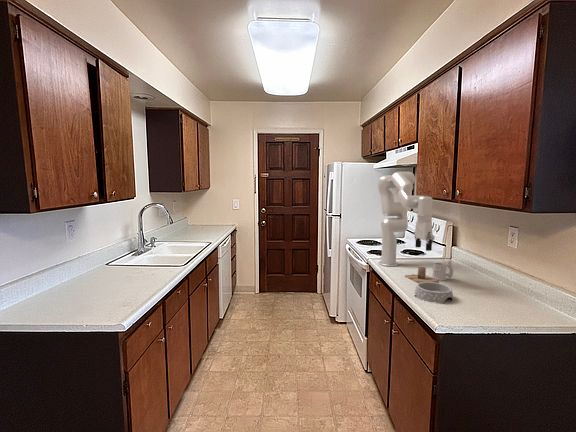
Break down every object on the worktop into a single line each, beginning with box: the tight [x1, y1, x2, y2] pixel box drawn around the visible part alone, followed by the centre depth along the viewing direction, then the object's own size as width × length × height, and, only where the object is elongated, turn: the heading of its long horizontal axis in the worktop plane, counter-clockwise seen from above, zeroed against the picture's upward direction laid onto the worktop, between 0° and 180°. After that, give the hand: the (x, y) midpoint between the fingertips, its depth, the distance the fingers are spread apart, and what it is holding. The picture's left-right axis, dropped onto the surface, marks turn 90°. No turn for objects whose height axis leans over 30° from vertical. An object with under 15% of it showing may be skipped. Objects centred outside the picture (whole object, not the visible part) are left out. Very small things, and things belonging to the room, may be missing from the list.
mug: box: [431, 259, 454, 282], centre depth 196 cm, size 8×12×12 cm, turn 94°
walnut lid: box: [404, 266, 440, 284], centre depth 194 cm, size 14×12×7 cm
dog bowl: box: [414, 282, 454, 304], centre depth 170 cm, size 17×18×5 cm
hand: (423, 248), depth 193 cm, fingers open, 9 cm apart
